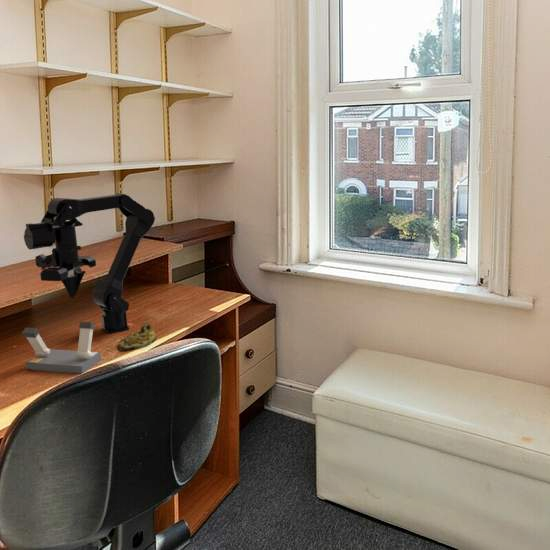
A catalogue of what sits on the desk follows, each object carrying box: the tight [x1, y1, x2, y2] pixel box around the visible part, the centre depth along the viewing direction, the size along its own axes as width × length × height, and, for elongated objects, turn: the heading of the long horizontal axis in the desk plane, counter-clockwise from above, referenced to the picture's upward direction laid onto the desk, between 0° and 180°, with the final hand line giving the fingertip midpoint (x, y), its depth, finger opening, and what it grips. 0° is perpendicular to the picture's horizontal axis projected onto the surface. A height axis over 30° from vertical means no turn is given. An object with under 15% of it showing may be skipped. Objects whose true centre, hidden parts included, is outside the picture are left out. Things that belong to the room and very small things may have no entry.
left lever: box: [21, 327, 51, 356], centre depth 143 cm, size 2×3×9 cm
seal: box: [118, 321, 158, 352], centre depth 160 cm, size 9×5×15 cm
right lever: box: [76, 321, 96, 358], centre depth 144 cm, size 2×3×9 cm, turn 77°
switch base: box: [24, 348, 102, 375], centre depth 145 cm, size 9×16×2 cm, turn 77°
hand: (72, 297), depth 159 cm, fingers closed
